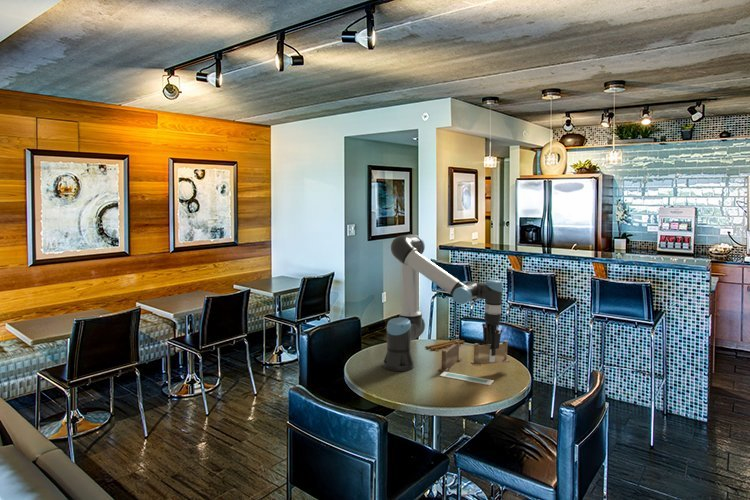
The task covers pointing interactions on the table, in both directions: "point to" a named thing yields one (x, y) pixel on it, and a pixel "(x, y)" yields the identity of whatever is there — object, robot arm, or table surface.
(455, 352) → the walnut fence panel
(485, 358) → the oak fence segment
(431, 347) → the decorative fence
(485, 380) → the strip
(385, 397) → the table surface
